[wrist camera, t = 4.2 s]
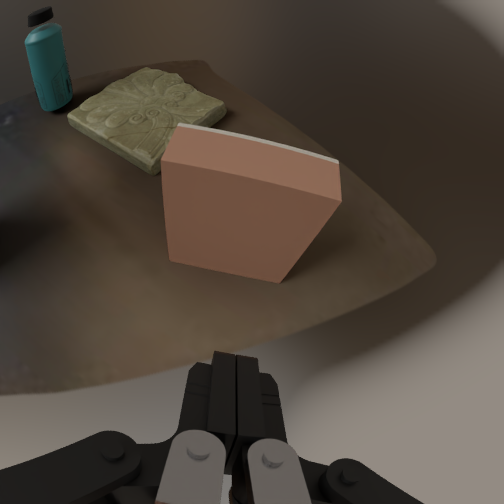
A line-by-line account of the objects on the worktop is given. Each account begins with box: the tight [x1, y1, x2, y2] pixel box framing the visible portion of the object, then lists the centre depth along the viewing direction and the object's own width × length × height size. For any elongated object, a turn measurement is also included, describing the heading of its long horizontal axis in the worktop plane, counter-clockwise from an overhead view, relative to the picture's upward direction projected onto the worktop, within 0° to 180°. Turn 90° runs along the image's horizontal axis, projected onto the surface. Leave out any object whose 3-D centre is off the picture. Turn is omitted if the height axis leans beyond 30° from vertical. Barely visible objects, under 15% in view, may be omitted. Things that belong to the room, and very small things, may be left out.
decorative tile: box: [67, 67, 227, 176], centre depth 39 cm, size 19×20×4 cm
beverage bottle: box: [25, 7, 73, 111], centre depth 30 cm, size 6×7×20 cm
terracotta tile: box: [161, 123, 342, 283], centre depth 26 cm, size 4×12×15 cm, turn 83°
